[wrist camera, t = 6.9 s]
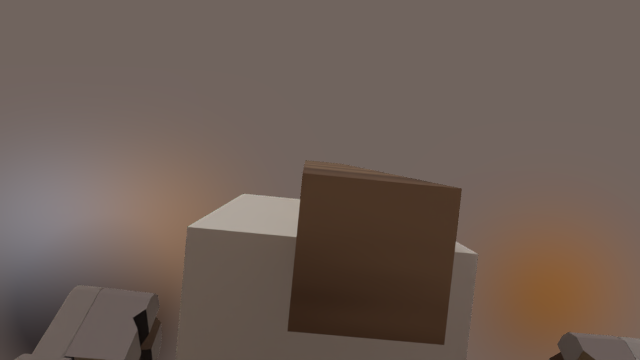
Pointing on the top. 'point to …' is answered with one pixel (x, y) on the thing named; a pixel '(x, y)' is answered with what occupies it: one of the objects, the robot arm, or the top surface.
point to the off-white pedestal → (281, 293)
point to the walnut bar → (373, 255)
